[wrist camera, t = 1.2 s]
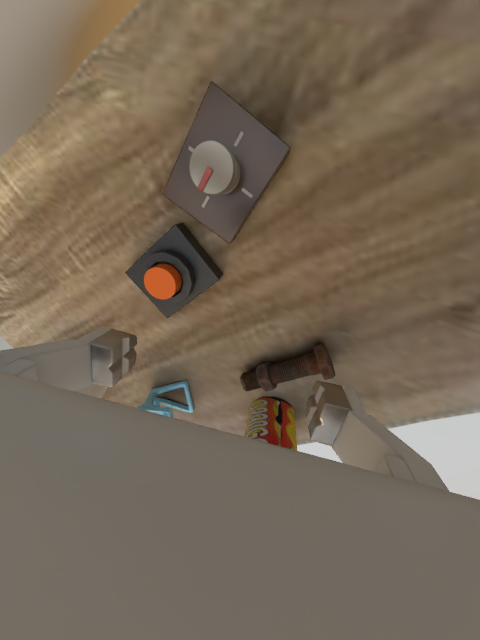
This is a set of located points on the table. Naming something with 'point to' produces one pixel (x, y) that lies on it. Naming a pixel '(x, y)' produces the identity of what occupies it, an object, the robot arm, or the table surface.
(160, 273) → the button
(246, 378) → the bolt
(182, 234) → the button box
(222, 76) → the table surface
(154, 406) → the chair
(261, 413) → the beverage can
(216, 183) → the knob
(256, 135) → the dial base
